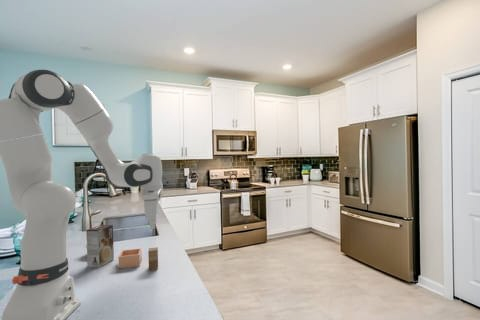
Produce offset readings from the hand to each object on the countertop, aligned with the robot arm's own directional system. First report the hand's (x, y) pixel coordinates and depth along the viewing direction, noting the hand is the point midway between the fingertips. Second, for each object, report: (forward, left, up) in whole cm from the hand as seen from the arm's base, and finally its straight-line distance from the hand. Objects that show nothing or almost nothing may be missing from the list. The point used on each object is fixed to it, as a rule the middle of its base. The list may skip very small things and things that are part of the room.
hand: (153, 225), depth 108 cm
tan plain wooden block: (0, 0, -18) cm, 18 cm away
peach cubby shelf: (+8, +10, -18) cm, 22 cm away
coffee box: (+13, +23, -18) cm, 32 cm away
